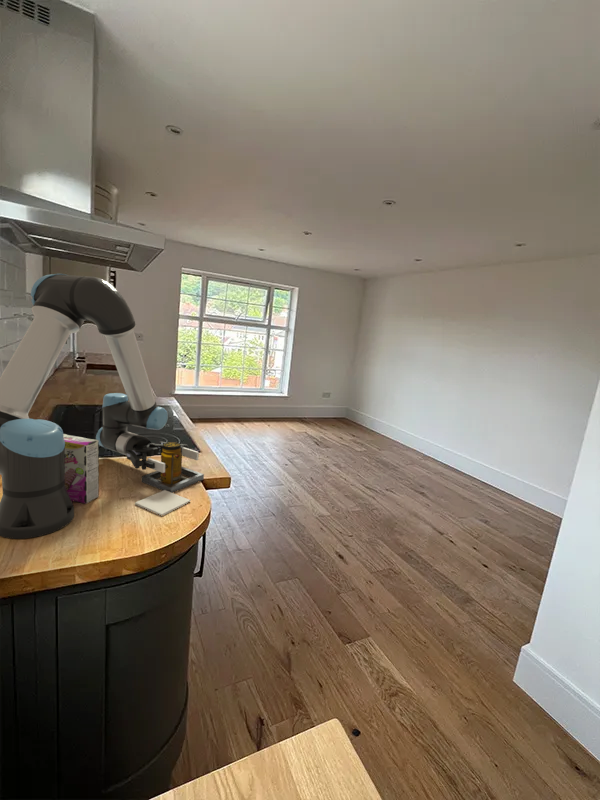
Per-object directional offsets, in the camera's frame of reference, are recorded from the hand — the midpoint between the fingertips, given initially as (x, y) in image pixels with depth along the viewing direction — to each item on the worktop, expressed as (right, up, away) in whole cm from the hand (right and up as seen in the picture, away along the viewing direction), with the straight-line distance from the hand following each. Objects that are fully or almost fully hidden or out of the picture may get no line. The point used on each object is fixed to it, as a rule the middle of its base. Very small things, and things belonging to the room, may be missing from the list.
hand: (181, 461), depth 113 cm
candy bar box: (-24, -7, -13) cm, 29 cm away
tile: (-1, -9, -12) cm, 15 cm away
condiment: (-3, -7, +3) cm, 8 cm away
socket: (-3, -6, +3) cm, 8 cm away
